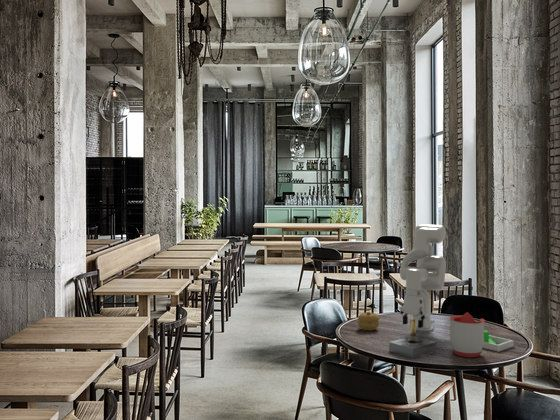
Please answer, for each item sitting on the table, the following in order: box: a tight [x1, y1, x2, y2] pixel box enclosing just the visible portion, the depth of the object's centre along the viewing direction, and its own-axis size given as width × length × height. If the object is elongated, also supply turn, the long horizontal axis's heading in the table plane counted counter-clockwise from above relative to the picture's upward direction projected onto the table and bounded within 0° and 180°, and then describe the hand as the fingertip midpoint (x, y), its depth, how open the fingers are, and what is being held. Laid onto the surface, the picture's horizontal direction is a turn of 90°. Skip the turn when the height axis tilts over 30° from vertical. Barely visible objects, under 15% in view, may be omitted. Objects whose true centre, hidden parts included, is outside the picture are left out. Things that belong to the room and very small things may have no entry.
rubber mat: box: [399, 334, 426, 339], centre depth 286 cm, size 10×10×1 cm
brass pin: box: [409, 318, 417, 337], centre depth 286 cm, size 3×3×10 cm
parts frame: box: [482, 334, 514, 352], centre depth 277 cm, size 14×20×3 cm
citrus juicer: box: [449, 312, 486, 359], centre depth 261 cm, size 16×17×20 cm
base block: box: [388, 336, 437, 359], centre depth 265 cm, size 18×14×4 cm
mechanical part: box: [484, 329, 497, 344], centre depth 277 cm, size 12×6×8 cm, turn 178°
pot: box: [357, 311, 380, 332], centre depth 306 cm, size 12×12×10 cm
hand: (412, 325), depth 285 cm, fingers open, 9 cm apart
